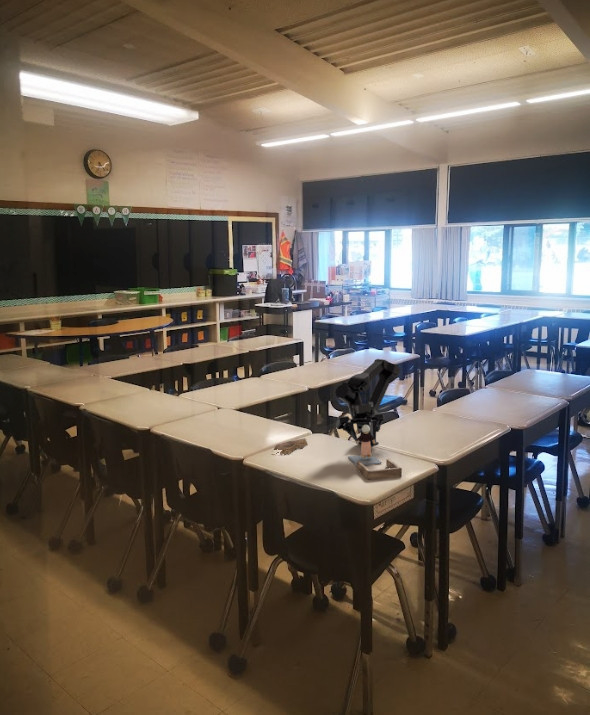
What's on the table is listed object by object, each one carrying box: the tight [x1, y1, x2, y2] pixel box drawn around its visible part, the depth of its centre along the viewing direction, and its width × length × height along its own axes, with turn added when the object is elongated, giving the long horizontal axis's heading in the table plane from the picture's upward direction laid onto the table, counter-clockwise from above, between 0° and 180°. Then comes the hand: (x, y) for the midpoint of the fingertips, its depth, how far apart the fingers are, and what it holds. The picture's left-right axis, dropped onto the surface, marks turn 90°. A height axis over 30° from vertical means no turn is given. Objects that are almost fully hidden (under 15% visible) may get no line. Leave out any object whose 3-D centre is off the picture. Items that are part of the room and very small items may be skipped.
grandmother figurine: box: [355, 425, 377, 458], centre depth 233 cm, size 8×4×13 cm, turn 109°
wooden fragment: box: [273, 438, 309, 456], centre depth 251 cm, size 26×11×1 cm, turn 146°
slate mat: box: [347, 453, 383, 467], centre depth 234 cm, size 10×10×1 cm
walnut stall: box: [356, 458, 403, 481], centre depth 221 cm, size 11×13×3 cm
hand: (365, 440), depth 232 cm, fingers closed on grandmother figurine, 7 cm apart
